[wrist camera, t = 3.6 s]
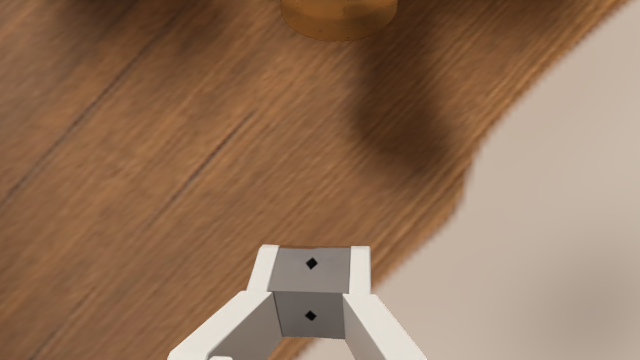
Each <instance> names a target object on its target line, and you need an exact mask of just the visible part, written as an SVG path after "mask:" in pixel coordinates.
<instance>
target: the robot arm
mask: <svg viewBox="0 0 640 360" xmlns="http://www.w3.org/2000/svg"><path fill="white" fill-rule="evenodd" d="M282 337H318V338H332V339H345V341H346V343H347V345H348V346H349V348H350V350H351V352H352V354H353V356H354V358H355V360H428V359H427V358H426V357H425V356H424V354H423V353H422V352H421V350H420V349H419V348H418V347H417V345H416V344H415V343H414V342H413V340H412V339H411V338H410V337H409V335H408V334H407V333H406V331H405V330H404V329H403V328H402V326H401V325H400V324H399V323H398V321H397V320H396V319H395V317H394V316H393V315H392V314H391V312H390V311H389V310H388V308H387V307H386V306H385V305H384V303H383V302H382V301H381V300H380V298H379V297H378V296H377V295H371V257H370V247H369V246H295V245H262V246H261V248H260V249H259V252H258V255H257V258H256V262H255V265H254V268H253V271H252V274H251V277H250V281H249V284H248V287H247V290H246V291H240V292H239V293H238V294H237V295H236V296H234V297H233V298H232V299H231V300H230V301H229V302H228V303H226V304H225V305H224V306H223V307H222V308H221V309H219V310H218V311H217V312H216V313H215V314H214V315H213V316H211V317H210V318H209V319H208V320H207V321H206V322H205V323H203V324H202V325H201V326H200V327H199V328H198V329H196V330H195V331H194V332H193V333H192V334H191V335H190V336H188V337H187V338H186V339H185V340H184V341H183V342H181V343H180V344H179V345H178V346H177V347H176V348H175V349H173V350H172V351H171V352H170V354H169V356H168V359H167V360H266V359H267V358H268V357H269V355H270V354H271V353H272V352H273V350H274V349H275V348H276V346H277V345H278V344H279V343H280V341H281V340H282V339H283V338H282Z"/></svg>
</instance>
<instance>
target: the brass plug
mask: <svg viewBox="0 0 640 360" xmlns="http://www.w3.org/2000/svg"><path fill="white" fill-rule="evenodd" d="M397 4H398V1H397V0H281V12H282V15H283V18H284V19H285V21H286V22H287V23H288V24H289V25H290V27H292V28H293V29H294V30H296V31H297V32H299V33H301V34H303V35H305V36H308V37H310V38H314V39H318V40H323V41H334V42H340V41H351V40H357V39H361V38H364V37H367V36H370V35H372V34H374V33H376V32H378V31H380V30H381V29H383V28H384V27H385V26H387V25H388V24H389V23H390V22H391V20H392V19H393V17H394V16H395V14H396V11H397Z"/></svg>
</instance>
